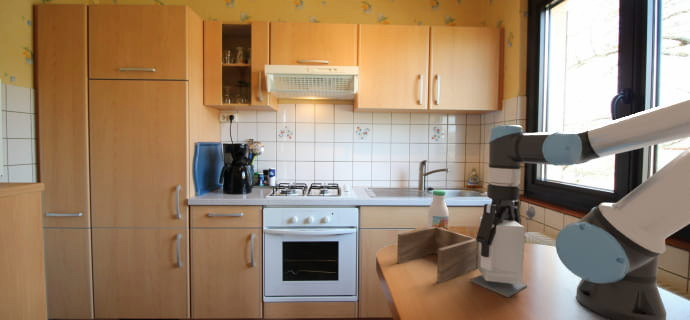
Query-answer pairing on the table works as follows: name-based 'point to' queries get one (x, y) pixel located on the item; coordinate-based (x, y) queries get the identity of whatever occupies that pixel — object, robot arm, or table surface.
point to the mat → (499, 286)
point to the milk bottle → (438, 211)
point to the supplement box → (506, 253)
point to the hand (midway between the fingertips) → (499, 263)
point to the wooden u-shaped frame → (440, 250)
